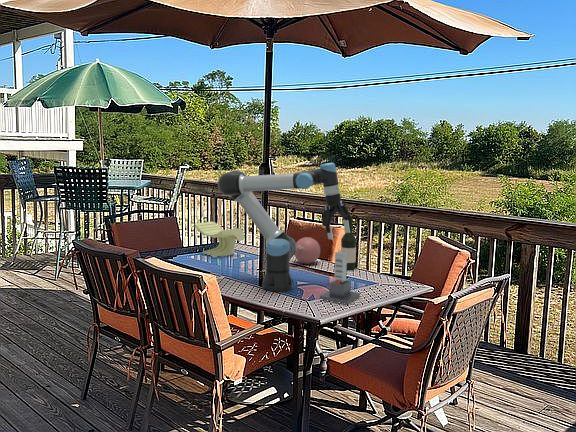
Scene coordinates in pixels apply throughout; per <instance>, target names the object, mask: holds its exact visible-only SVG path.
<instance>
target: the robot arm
mask: <svg viewBox="0 0 576 432" xmlns="http://www.w3.org/2000/svg"><path fill="white" fill-rule="evenodd" d="M320 184H321V185H323V190H324V195H325V203H327V205H324V206H323V216H322V221H321V222H322V223H321V226H323V227H325V230H326V233H327V239H328V240H333V239H334V234H333V228H332V225H331V223H332V221H333V216H334V215H335V214H336V213H338V214H339V215H340V217H342V219H343V220H342V221H343V227H344V229H343V230H344V234H345V233H350V228H349V220H350V218H351V216H352V215H351V213H350V211H349V210H348V207H347V206H346V202H345V200H342V198H341V197H342V196H341V193H340V186H339V179H338V172H337V169H336V164H335V163H334V162H327V163H322V164H320V166H319V168H318V169H310V170H304V171H303V170H302V171H300V172H293V173H292V172H291V173H277V174H262V175H261V174H260V175H246V173H244V172H243V171H240V170H231V171H228V172H225V173H223V174H221V175H220V177H219V178H218V180H217V188H218V191H219V192H220V193H221V194H222V195H223V196H224V195H225V196H228V197H230V198H231V199H232V200H233V202H234V203H239V205H240V206H241V208H242V209H243V211H244V212H245V214H247V216H248V217H249V219H250V220H251V221H252V222H253V224H254V226H255V227H256V228H257V229H258V231H259V232H260V234H261V235H262V236H263V238H264V239H265V272H264V277H263V279H262V283H261V288H262V289H263V290H264V289H266V290H265V291H267V290H269V291H268V292H274V291H279V292H281V293H282V292H288V291H291V290H292V289H293V288H294V283H293V280H292V276H291V274H290V260H291V259H292V258H293V257H295V255H294V254H295V251H296V241H295V239H293V238H292V237H290V236H289V235H288V234H287V233H286V231H284V230H282V229H279V227H278V226H277V224H276V223H275V221H274V220H273V219H272V218H271V216H270V215H269V213H268V212H267V210H266V209H265V208H264V207H263V205H262V204H261V203H260V201H259V200H258V199H257V197H256V196H255V195H254V193H253V192H264V191H279V190H282V191H283V190H295V189H296V190H299V189H301V190H308V189H309V188H310V187H312V186H315V185H320Z"/></svg>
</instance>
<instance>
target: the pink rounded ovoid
mask: <svg viewBox="0 0 576 432" xmlns="http://www.w3.org/2000/svg"><path fill="white" fill-rule="evenodd" d="M295 244H296V251H295V254H294V257H295V259H296V260H297V261H298V262H300V263H301V264H306V265H310V264H313V263H314V262H315V263H316V261H317V260H318V258H319V257H320V255H321V246H320V244H319V242H318V241H317V240H316V239H314V238H312V237H309V236H305V237H302V238H300V239H298V240H297V241H295Z"/></svg>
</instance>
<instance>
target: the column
mask: <svg viewBox="0 0 576 432" xmlns="http://www.w3.org/2000/svg"><path fill="white" fill-rule="evenodd" d="M346 267H347V252H342V251H341V250H338V251H336V252H335V255H334V280H335V281H341V284H344V283H346V281H347V270H346Z"/></svg>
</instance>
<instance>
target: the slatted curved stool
mask: <svg viewBox="0 0 576 432" xmlns="http://www.w3.org/2000/svg"><path fill="white" fill-rule="evenodd" d="M194 229H196V230H197V231H198V232H199V233H201V235H202V236H206V237H210V238H215V239H216V238H217V241H218V245H217V247H214V248H212V249H208V250H202V253H205V254H207V255H211V256H213V257H212V258H214V257H215V258H218V257H217V256H221V257H226V256H227V257H228V256H233V254H234V252H235V248H236V247H235V246H236V242H237V241H238V242H239V241H244V240H245V239H244V236H245V235H244V234H245V232H244V230H243V229H242V228H241V227H240V228H229V229H223V228H222V227H221V226H220V225H219V224H218V223H217V222H215V221H205V222H196V223H194ZM207 255H206V256H207ZM211 256H210V257H211Z"/></svg>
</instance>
